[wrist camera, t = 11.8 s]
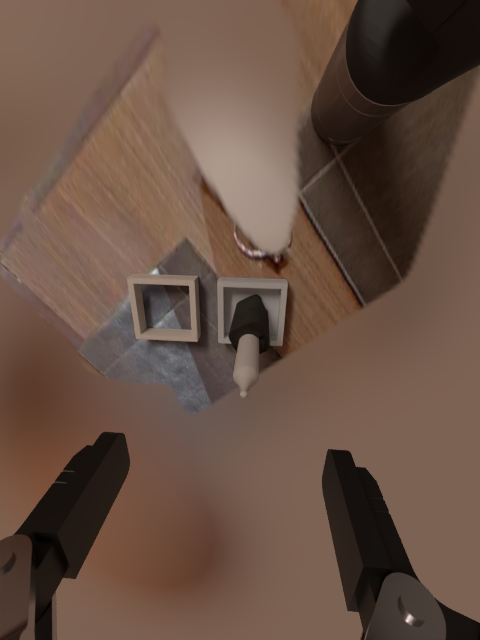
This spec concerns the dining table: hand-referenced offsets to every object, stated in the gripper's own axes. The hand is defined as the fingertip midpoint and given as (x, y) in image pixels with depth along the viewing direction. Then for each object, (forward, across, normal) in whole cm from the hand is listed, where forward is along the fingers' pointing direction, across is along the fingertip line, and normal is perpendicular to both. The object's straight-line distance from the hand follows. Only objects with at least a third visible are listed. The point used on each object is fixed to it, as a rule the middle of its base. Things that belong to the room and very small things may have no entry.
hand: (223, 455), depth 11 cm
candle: (+40, 0, +9) cm, 41 cm away
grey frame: (+40, +16, +9) cm, 44 cm away
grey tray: (+40, 0, +9) cm, 41 cm away
